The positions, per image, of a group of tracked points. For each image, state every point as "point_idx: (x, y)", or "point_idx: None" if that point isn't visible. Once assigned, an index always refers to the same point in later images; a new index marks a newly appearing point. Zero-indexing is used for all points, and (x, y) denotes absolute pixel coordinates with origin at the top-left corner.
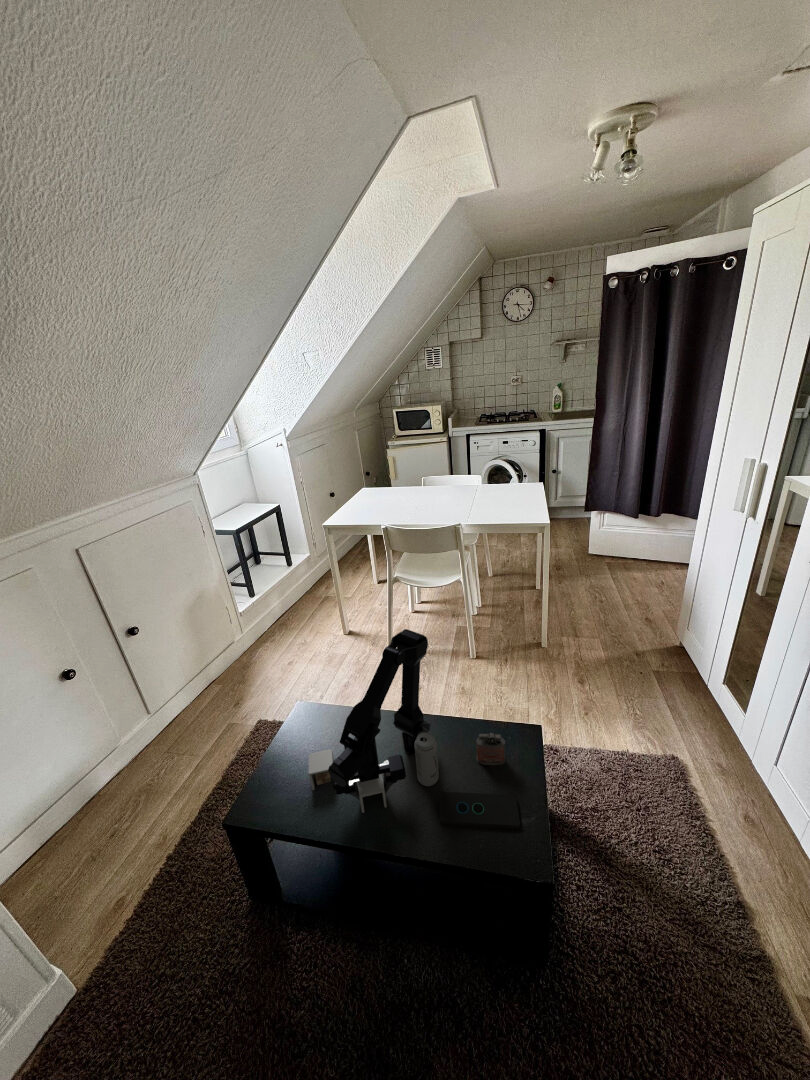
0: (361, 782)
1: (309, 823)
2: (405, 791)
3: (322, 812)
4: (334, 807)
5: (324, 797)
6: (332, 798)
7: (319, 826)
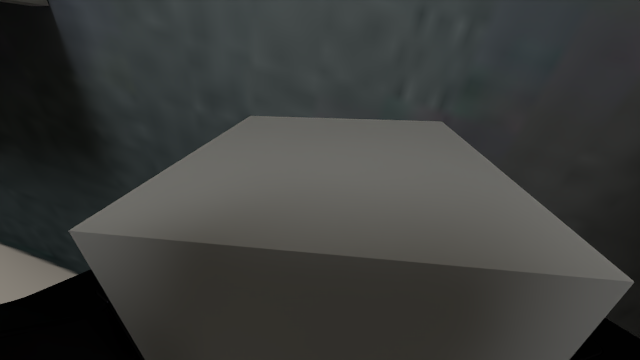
0: (190, 356)
1: (18, 219)
2: (579, 220)
3: (53, 188)
4: (109, 182)
5: (16, 99)
6: (73, 122)
7: (72, 244)
